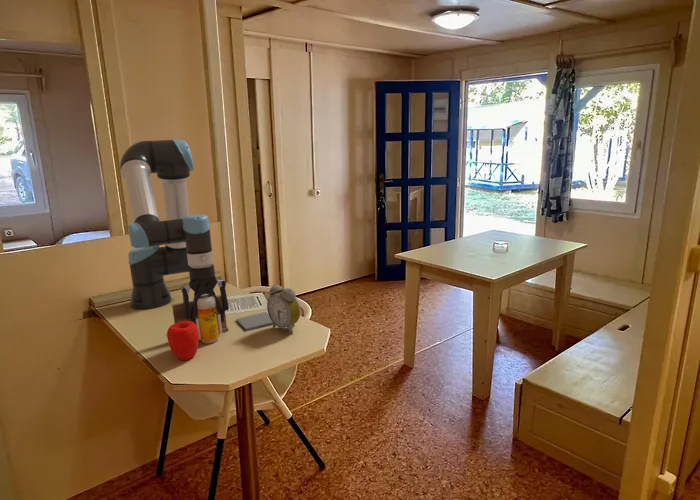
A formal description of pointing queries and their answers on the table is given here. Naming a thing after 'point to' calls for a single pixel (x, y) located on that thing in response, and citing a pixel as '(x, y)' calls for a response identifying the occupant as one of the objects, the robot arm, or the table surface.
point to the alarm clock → (283, 307)
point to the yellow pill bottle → (208, 318)
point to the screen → (179, 313)
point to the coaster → (255, 321)
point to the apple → (183, 339)
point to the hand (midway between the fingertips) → (209, 334)
